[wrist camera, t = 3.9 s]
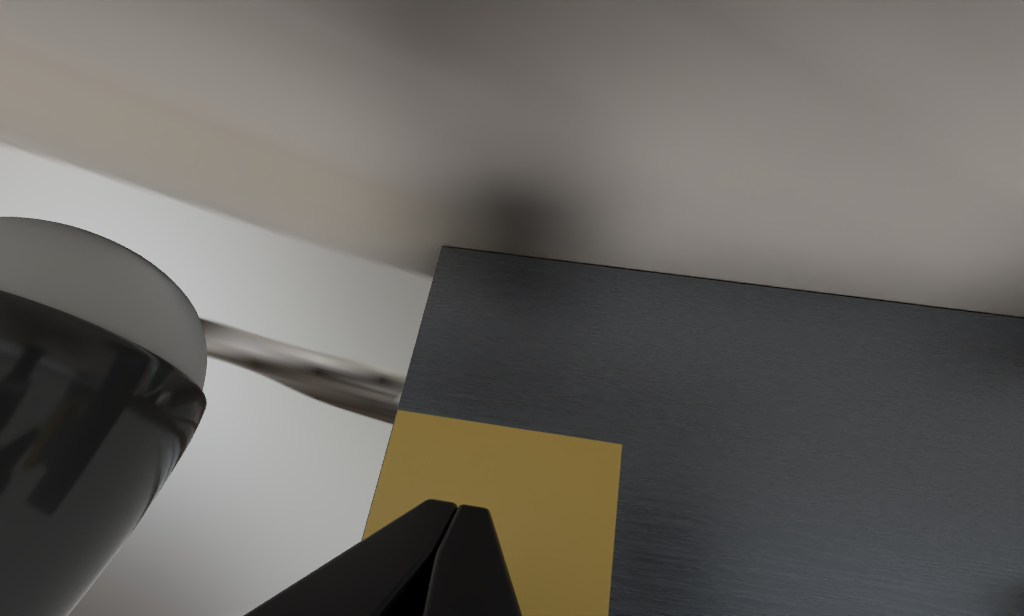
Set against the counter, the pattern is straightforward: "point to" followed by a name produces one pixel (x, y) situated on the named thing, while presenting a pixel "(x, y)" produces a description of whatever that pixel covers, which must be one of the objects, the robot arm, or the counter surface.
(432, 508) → the robot arm
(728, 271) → the counter surface
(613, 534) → the amber button
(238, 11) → the counter surface
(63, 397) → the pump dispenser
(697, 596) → the button panel
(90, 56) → the counter surface
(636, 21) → the counter surface
